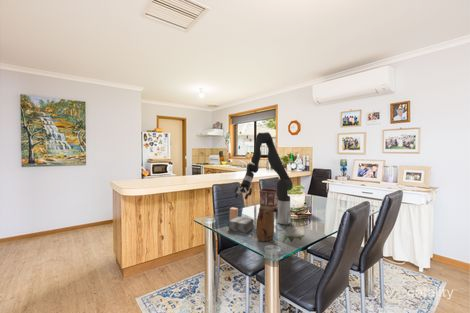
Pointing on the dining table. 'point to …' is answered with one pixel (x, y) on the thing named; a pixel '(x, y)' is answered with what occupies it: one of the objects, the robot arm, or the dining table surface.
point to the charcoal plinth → (241, 224)
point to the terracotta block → (233, 213)
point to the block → (265, 223)
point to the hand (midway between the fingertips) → (240, 198)
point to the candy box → (308, 202)
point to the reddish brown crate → (269, 198)
